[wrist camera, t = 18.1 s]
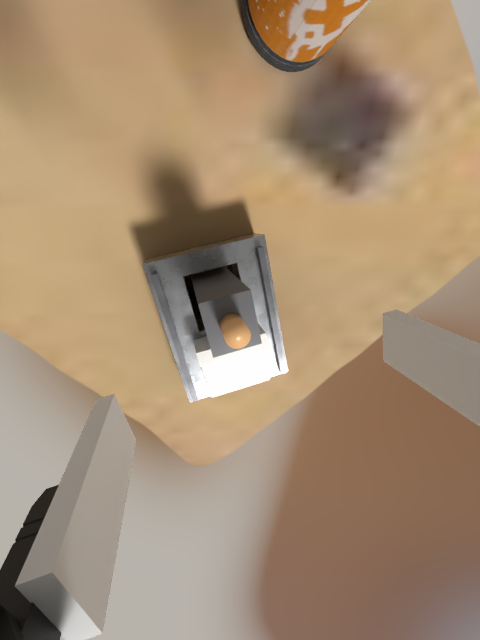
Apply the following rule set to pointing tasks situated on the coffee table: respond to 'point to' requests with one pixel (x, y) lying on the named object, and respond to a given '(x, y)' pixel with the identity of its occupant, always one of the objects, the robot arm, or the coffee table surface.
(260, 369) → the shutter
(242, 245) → the socket
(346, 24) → the canister
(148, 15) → the coffee table surface
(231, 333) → the plug
